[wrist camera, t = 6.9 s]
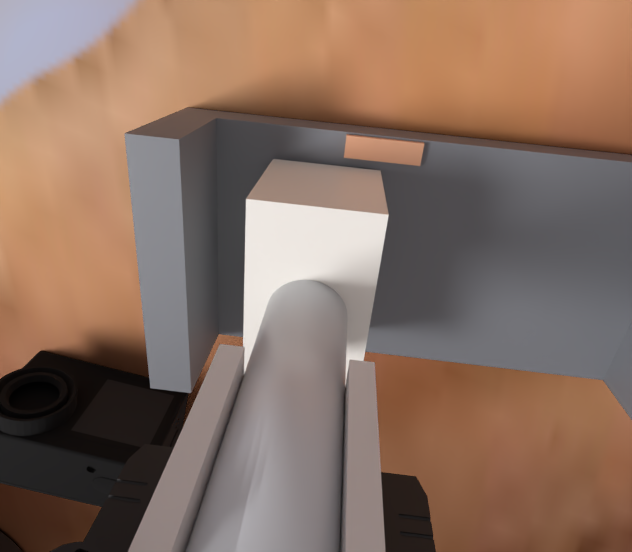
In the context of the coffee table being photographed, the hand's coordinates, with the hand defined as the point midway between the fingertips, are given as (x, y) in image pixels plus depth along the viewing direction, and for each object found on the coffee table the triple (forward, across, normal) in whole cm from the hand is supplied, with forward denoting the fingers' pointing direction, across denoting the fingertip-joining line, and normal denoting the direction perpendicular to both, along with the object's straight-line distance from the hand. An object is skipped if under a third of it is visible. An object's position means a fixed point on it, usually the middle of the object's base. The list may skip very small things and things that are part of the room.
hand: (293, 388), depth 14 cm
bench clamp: (+13, +7, 0) cm, 14 cm away
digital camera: (+13, -13, -13) cm, 22 cm away
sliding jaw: (+10, 0, 0) cm, 10 cm away
